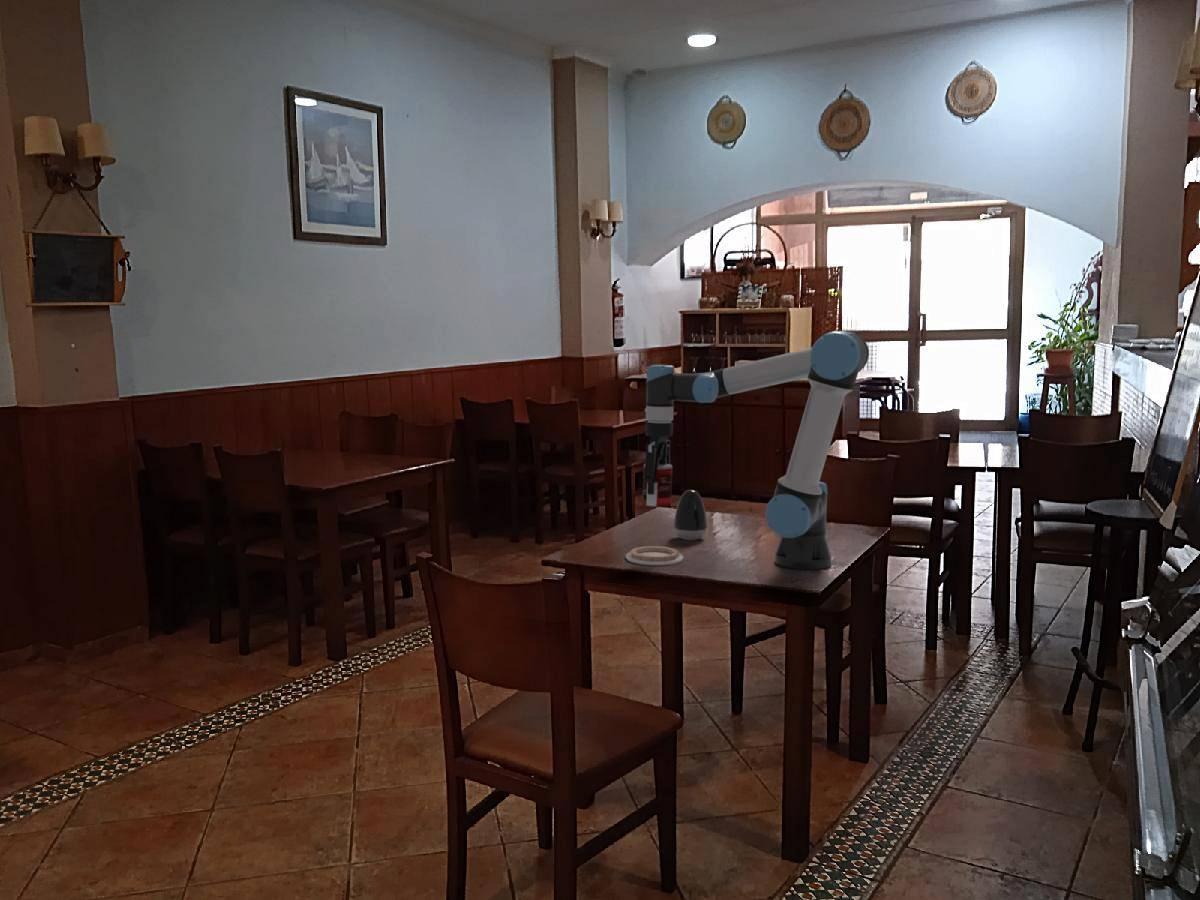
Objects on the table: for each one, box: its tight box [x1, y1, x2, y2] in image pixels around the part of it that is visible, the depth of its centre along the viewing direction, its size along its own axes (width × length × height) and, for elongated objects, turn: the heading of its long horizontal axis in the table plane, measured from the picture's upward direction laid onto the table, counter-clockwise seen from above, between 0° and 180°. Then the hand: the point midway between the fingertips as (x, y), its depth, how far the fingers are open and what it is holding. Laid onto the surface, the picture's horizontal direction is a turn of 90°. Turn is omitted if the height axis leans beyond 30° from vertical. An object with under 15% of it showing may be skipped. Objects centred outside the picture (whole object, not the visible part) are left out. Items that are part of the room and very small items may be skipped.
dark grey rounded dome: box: [673, 489, 708, 541], centre depth 292 cm, size 10×10×15 cm
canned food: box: [642, 463, 673, 507], centre depth 265 cm, size 8×8×11 cm
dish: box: [625, 545, 684, 567], centre depth 267 cm, size 16×16×2 cm
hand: (656, 503), depth 265 cm, fingers closed on canned food, 8 cm apart
